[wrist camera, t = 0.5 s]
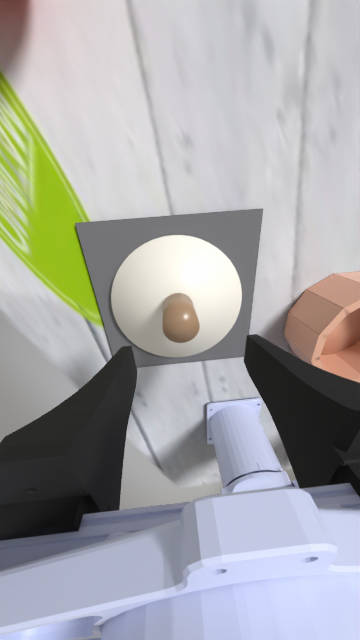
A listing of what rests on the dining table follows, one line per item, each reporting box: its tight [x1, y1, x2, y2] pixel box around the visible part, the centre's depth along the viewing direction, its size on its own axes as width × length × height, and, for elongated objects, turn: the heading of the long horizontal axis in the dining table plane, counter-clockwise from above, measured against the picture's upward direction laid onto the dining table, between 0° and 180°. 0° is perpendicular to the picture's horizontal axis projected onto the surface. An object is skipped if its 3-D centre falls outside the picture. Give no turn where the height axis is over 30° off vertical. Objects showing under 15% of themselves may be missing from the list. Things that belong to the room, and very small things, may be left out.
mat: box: [75, 209, 263, 367], centre depth 21 cm, size 16×16×1 cm
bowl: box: [284, 271, 360, 383], centre depth 21 cm, size 11×11×5 cm
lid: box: [111, 235, 242, 357], centre depth 18 cm, size 13×13×5 cm
